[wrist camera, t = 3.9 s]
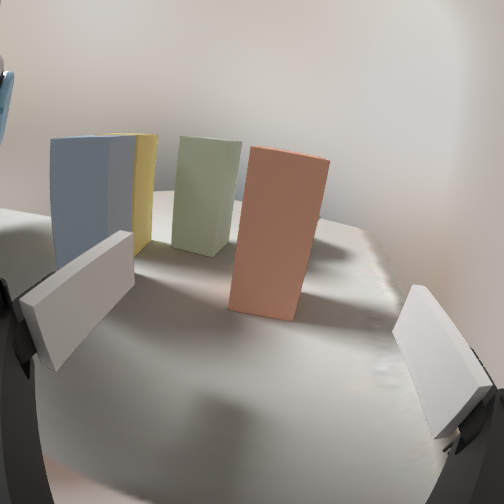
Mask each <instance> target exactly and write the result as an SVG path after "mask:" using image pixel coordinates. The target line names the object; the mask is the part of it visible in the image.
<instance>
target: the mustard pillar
mask: <svg viewBox="0 0 504 504" xmlns="http://www.w3.org/2000/svg"><path fill="white" fill-rule="evenodd" d="M98 135H136V141H135V152H134V165H133V182H132V214H131V232H132V233H133V249H134V257H135V256H136V255H137V254H138V253H139V252H140V251H141V250H142V249H143V248H144V247H145V246H146V245H147V244H148V243H149V242H150V241H151V232H152V203H153V185H154V171H155V159H156V148H157V139H158V135H156V134H155V135H154V134H98Z"/></svg>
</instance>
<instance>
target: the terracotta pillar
mask: <svg viewBox="0 0 504 504" xmlns="http://www.w3.org/2000/svg"><path fill="white" fill-rule="evenodd" d="M329 164H330V161H329V160H327V159H324V158H322V157H318V156H313V155H308V154H303V153H298V152H292V151H287V150H281V149H275V148H269V147H263V146H251V149H250V155H249V162H248V168H247V175H246V182H245V189H244V196H243V203H242V210H241V217H240V224H239V231H238V238H237V246H236V253H235V260H234V268H233V275H232V283H231V291H230V298H229V306H228V310H232V311H237V312H243V313H248V314H253V315H258V316H264V317H269V318H275V319H281V320H287V321H293V318H294V314H295V311H296V307H297V303H298V300H299V296H300V292H301V288H302V284H303V280H304V277H305V273H306V269H307V265H308V261H309V256H310V252H311V248H312V244H313V240H314V235H315V231H316V227H317V222H318V218H319V213H320V208H321V204H322V199H323V194H324V189H325V184H326V180H327V174H328V169H329Z"/></svg>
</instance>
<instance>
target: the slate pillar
mask: <svg viewBox="0 0 504 504" xmlns="http://www.w3.org/2000/svg"><path fill="white" fill-rule="evenodd" d="M135 141H136V135H91V136H90V135H89V136H74V137H65V138H55V139H51V146H50V202H51V203H50V204H51V219H52V231H53V240H54V248H55V256H56V263H57V269H58V270H60V269H61V268H63V267H64V266H65V265H67V264H68V263H70V262H71V261H73V260H74V259H76V258H77V257H79V256H80V255H82V254H83V253H85V252H86V251H88V250H89V249H91V248H92V247H94V246H96V245H97V244H99V243H100V242H102V241H103V240H105V239H107V238H108V237H110V236H111V235H113V234H115V233H116V232H118V231H120V230H121V231H126V232H131V214H132V182H133V165H134V152H135Z"/></svg>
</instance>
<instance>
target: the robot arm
mask: <svg viewBox="0 0 504 504" xmlns="http://www.w3.org/2000/svg"><path fill="white" fill-rule="evenodd" d="M0 3H1V0H0ZM13 83H14V73H13V72H9V71H6V72H4V73H3V58H2V57H1V56H0V145H1V143H2V140H3V136H4V131H5V126H6V121H7V115H8V110H9V105H10V100H11V94H12V88H13ZM134 285H135V277H134V249H133V233H132V232H126V231H121V230H120V231H118V232H116V233H115V234H113V235H111V236H110V237H108V238H107V239H105V240H103V241H102V242H100V243H99V244H97V245H96V246H94V247H92V248H91V249H89V250H88V251H86V252H85V253H83V254H82V255H80V256H79V257H77V258H76V259H74V260H73V261H71V262H70V263H68V264H67V265H65V266H64V267H63V268H61V269H60V270H58V271H55V272H53V273H50V274H49V275H47V276H46V277H44V278H43V279H42V280H41V281H39V282H37V283H36V284H35V286H32V287H31V288H29V289H28V290H27V291H25V292H24V293H23V294H21V295H20V296H19V297H17V298H16V299H15V300H13V301H11V297H10V294H9V290H8V287H7V283H6V281H5V280H4V279H2V278H0V504H54V501H53V498H52V494H51V491H50V487H49V483H48V479H47V475H46V470H45V466H44V461H43V456H42V450H41V444H40V438H39V431H38V422H37V413H36V400H35V378H34V361H33V358H32V356H33V355H34V354H35V353H36V352H37V354H38V356H39V359H40V361H41V363H42V364H43V365H45V366H46V367H48V368H50V369H52V370H54V371H55V372H57V371H58V369H59V368H60V367H61V366H62V365H63V363H64V362H65V361H66V360H67V359H68V357H69V356H70V355H71V354H72V353H73V352H74V350H75V349H76V348H77V347H78V346H79V345H80V344H81V342H82V341H83V340H84V339H85V338H86V337H87V336H88V335H89V333H90V332H91V331H92V330H93V329H94V328H95V327H96V326H97V325H98V323H99V322H100V321H101V320H102V319H103V318H104V317H105V316H106V315H107V314H108V313H109V311H110V310H111V309H112V308H113V307H114V306H115V305H116V304H117V303H118V302H119V301H120V300H121V299H122V298H123V297H124V295H125V294H126V293H127V292H128V291H129V290H130V289H131V288H132V287H133V286H134ZM392 333H393V335H394V337H395V339H396V342H397V344H398V346H399V349H400V351H401V353H402V356H403V358H404V361H405V363H406V365H407V368H408V370H409V373H410V375H411V378H412V381H413V383H414V386H415V388H416V391H417V394H418V396H419V399H420V402H421V405H422V408H423V410H424V413H425V416H426V419H427V422H428V425H429V428H430V431H431V434H432V438H433V439H439V438H445V437H448V436H449V435H450V434H451V433H452V432H453V431H454V430H455V429H456V428H457V427H458V428H459V431H460V434H459V435H458V436H457V437H456V438H455V439H453V440H452V441H451V442H450V443H449V444H448V445H447V446H446V447H445V448H444V450H443V452H445V451H446V450H448V449H449V448H450V447H452V448H451V450H450V452H448V454H449V455H448V458H447V460H446V463H445V465H444V467H443V470H442V472H441V474H440V476H439V478H438V481H437V483H436V485H435V487H434V489H433V491H432V493H431V495H430V497H429V498H428V500H427V502H426V504H504V389H499V390H498V389H497V387H496V386H495V384H494V382H493V381H492V379H491V377H490V376H489V374H488V372H487V371H486V369H485V367H483V364H482V362H481V361H480V360H479V358H478V356H477V355H476V353H475V352H474V350H473V349H472V348H471V347H470V346H469V345H468V344H467V342H466V341H465V340H464V338H463V337H462V335H461V334H460V332H459V331H458V329H457V328H456V327H455V325H454V324H453V322H452V321H451V319H450V318H449V317H448V315H447V314H446V313H445V312H444V310H443V309H442V307H441V306H440V305H439V303H438V302H437V301H436V299H435V298H434V297H433V295H432V294H431V293H430V292H429V290H428V289H427V288H426V287H425V286H420V285H415V284H413V285H412V288H411V290H410V293H409V295H408V297H407V300H406V302H405V304H404V307H403V309H402V311H401V314H400V316H399V318H398V320H397V322H396V324H395V327H394V329H393V331H392Z"/></svg>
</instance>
